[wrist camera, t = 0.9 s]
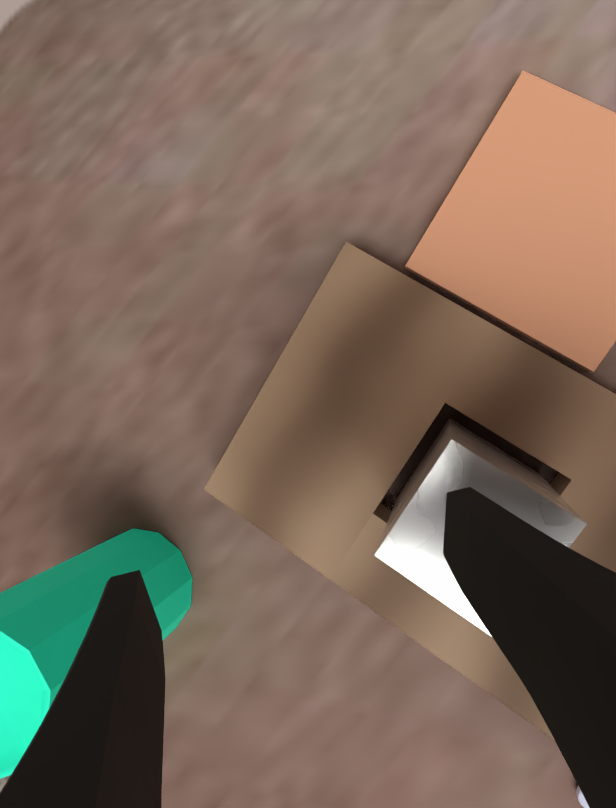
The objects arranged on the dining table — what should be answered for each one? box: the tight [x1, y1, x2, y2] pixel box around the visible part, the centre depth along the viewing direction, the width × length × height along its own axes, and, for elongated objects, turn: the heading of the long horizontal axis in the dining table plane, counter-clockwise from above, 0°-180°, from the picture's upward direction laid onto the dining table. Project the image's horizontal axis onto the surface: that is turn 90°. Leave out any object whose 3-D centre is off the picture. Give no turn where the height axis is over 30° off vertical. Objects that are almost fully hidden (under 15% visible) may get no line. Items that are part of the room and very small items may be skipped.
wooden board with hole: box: [204, 242, 616, 741], centre depth 23 cm, size 20×13×2 cm, turn 59°
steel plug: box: [375, 418, 587, 636], centre depth 20 cm, size 4×4×8 cm
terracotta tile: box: [405, 71, 616, 372], centre depth 22 cm, size 9×9×1 cm
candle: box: [0, 528, 192, 779], centre depth 22 cm, size 6×6×12 cm
